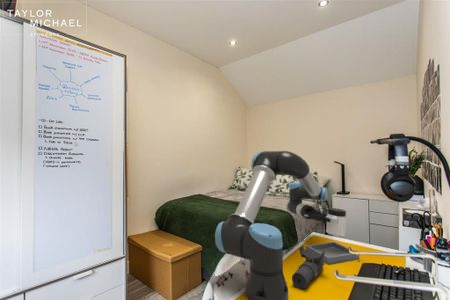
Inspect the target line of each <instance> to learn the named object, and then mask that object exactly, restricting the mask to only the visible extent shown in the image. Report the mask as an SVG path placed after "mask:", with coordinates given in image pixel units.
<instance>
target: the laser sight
mask: <svg viewBox="0 0 450 300" xmlns="http://www.w3.org/2000/svg"><path fill="white" fill-rule="evenodd" d="M298 249H299V254H300V257H301V258H303V259H305V260H304V261H303V262H302V264H300V265H299V266H298V269H297V270H296V271H295V272H294V273H293V274H292V276H291V281H292V283H293V285H294V287H295V288H297V289H299V290H303V289H306V287H307V286H308V284H309V283H311V282H312V281H313V280H315V278H316V277H317V276H318V275H319V273H320V272H321V271H322V270H323V268H324V265H325V262H324V260H323V258H324V254H325V251H323V252H322V253H321V254H322V255H318V254H313V255H312V254H310V253H308V252H306V249H305V248H304V245H301V246H300V247H299V248H298Z"/></svg>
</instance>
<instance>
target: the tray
mask: <svg viewBox="0 0 450 300" xmlns="http://www.w3.org/2000/svg"><path fill="white" fill-rule="evenodd" d="M349 248H350V247H348V246H345V245H343V244H340V243H339V242H337V241H329V242H321V243H314V244H309V245H308V244H307V245H305V251H306V252H308V253H310V254H312V255H313V254H318V255H322V254H321V253H322V252H323V251H325V254H324V258H323V260H324V264H327V265H328V266H329V265H334V264H340V263H346V262H350V261H351V262H352V261H357V259H358V260H360V254H359V255H356V254H352V253H350V252H349ZM352 250H353V251H355V250H354V249H352Z"/></svg>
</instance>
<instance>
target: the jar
mask: <svg viewBox="0 0 450 300" xmlns="http://www.w3.org/2000/svg"><path fill="white" fill-rule="evenodd" d="M327 213H328V214H327V216H329V217H332V218H337V219H339V225H334V224H331V223H329V222H326V229H325V231H326V233H327V234H329V235H332V236H337V237H344V236H345V235H346V228H347V211H346V210H344V209H341V208H334V207H330V208H328V210H327Z"/></svg>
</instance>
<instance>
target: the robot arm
mask: <svg viewBox="0 0 450 300" xmlns="http://www.w3.org/2000/svg"><path fill="white" fill-rule="evenodd" d="M250 165H251V170H252V174H253V175H252V177H251V179H250V182H249V184H248V185H247V187H246V189H245V192H244V194H243V195H242V198H241V200H240V202H239V203H238V205H237V208H236V210H235V212H234V213H232V214H230V215H229V216H228V218H227V220H225V221H224V220H223V221H221V222H219V223H218V225H217V226H216V228H215V231H214V232H215V234H214V238H215V239H214V240H215V241H214V242H215V246H216V247H217V249H218V250H219V252H222V253H225V254H227V255H230V256H235V257H238V258H242V259H243V260H244V259H245V260H247V261H249V272H248V275H247V279H246V282H245V285H244V287H245V290H244V291H245V292H244V293H246V294H245V296H246V297H247V299H248V300H289V299H288V298H289V287H288V284H287V281H286V278H285V275H284V271H283V270H284V266H283V263H284V262H283V261H284V258H283V246H284V242H283V235H282V232H281V230H280V229H279V228H277V227H276V226H274V225H270V224H267V223H259V222H258V223H254V222H255V220H256V217H257V214H258V213H259V210H260V207H261V205H262V204H263V201H264V198H265V195H266V193H267V191H268V188H269V186H270V184H271V183H272V182H274V181H275V180H276V178H277V176H290V177H292V178H293V179H296V180H297V181H298V182H297V181H295V182H294V181H292V182H290V183H289V189H288V191H289V192H288V193H289V201H287V202H286V205H285V206H286V208H285V209H286V210H287V211H288V212H289V213H291V214H292V215H296V216H299V217H301V218H303V219H306V220H314V221H318V222H323V224H325V223H327V222H329V223H331V224H334V225H339V219H337V218H332V217H329V216H327V214H328V212H325V211H324V210H322V211H319V210H318V209H315V208H314V206H313V205H312V206H311V205H309V204H305V203H303V200H305V199H306V200H313V201H320V202H321V201H327V200H328V197H329V191H328V188H327V187H323V186H320V184H319V183H318V182H317V180H316V179H315V177H314V175H313V174H312V173H311V171H310V165H309V164H308V163H307V161H306V160H305V159H304V158H303V157H301V156H300V155H298V154H296V153H294V152H291V151H287V150H272V151H271V150H270V151H267V150H264V151H259V152H256V153H255V154H254V155H253V156H252V159H251V164H250Z"/></svg>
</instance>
